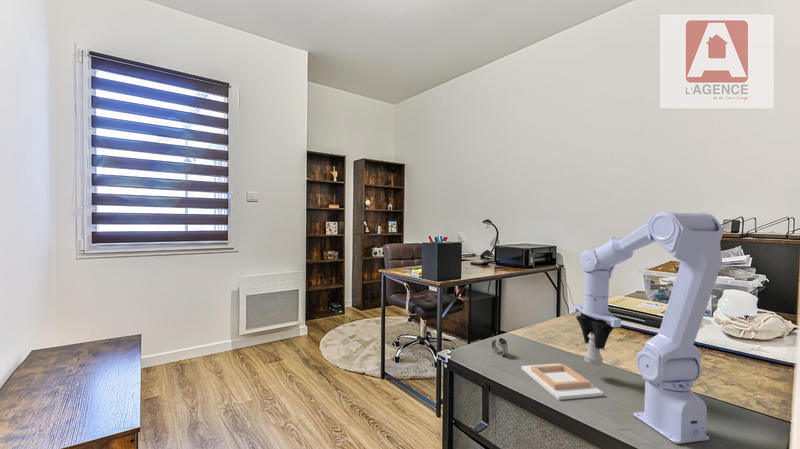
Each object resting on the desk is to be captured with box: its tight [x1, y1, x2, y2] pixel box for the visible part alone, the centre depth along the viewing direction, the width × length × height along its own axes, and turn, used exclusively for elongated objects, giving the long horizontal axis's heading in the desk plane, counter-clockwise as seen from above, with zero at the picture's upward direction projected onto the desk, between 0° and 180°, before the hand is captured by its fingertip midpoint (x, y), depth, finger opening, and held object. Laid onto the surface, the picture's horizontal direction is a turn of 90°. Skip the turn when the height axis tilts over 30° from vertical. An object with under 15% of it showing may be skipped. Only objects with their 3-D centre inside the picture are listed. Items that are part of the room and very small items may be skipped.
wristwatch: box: [490, 337, 509, 357], centre depth 104 cm, size 4×6×5 cm, turn 22°
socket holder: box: [520, 363, 604, 401], centre depth 86 cm, size 16×12×2 cm
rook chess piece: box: [583, 332, 604, 367], centre depth 89 cm, size 4×4×8 cm
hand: (594, 345), depth 89 cm, fingers closed on rook chess piece, 3 cm apart
